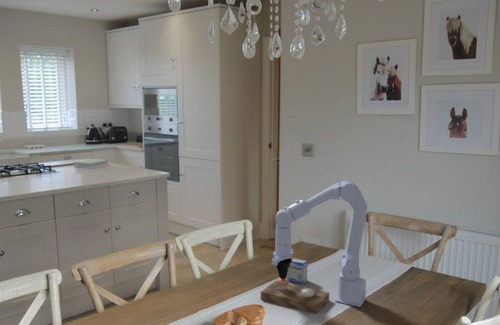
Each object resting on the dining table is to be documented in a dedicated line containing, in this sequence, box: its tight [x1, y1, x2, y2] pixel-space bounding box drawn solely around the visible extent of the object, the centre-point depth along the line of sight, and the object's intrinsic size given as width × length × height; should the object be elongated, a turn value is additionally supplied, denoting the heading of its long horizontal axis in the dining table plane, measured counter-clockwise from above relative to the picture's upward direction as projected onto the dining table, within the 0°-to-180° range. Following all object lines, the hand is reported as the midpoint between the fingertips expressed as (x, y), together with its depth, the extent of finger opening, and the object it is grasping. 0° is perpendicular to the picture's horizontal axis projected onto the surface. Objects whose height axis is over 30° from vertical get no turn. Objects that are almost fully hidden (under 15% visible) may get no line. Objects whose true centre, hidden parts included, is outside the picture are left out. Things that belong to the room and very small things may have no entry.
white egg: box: [302, 288, 314, 298], centre depth 158 cm, size 4×4×4 cm
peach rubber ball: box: [276, 276, 290, 291], centre depth 162 cm, size 4×4×4 cm
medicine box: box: [286, 257, 309, 285], centre depth 178 cm, size 8×4×9 cm, turn 62°
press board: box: [260, 280, 330, 314], centre depth 160 cm, size 22×12×3 cm, turn 60°
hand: (282, 277), depth 162 cm, fingers closed
